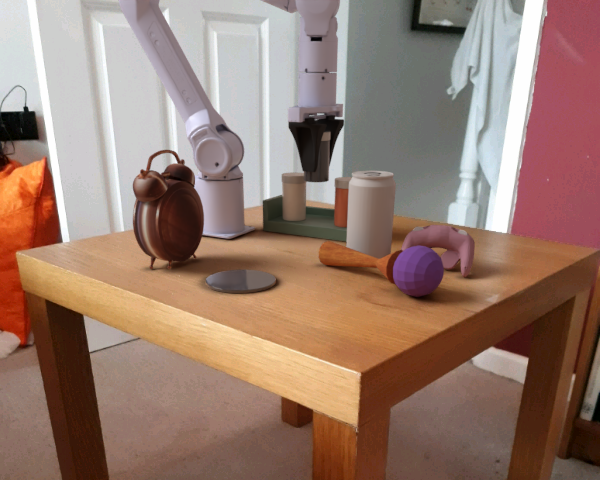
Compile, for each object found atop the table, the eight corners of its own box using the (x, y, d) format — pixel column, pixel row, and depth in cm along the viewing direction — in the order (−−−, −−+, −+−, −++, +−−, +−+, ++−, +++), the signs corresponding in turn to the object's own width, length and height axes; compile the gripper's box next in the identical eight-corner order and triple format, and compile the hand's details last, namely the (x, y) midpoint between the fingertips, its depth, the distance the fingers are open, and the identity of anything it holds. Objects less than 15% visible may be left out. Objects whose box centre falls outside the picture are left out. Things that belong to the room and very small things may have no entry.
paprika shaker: (328, 226, 103) (330, 179, 99) (340, 221, 106) (341, 176, 103) (352, 228, 101) (354, 181, 98) (363, 223, 104) (365, 178, 101)
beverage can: (389, 255, 94) (395, 169, 88) (390, 267, 88) (397, 176, 82) (346, 253, 94) (349, 168, 89) (345, 265, 89) (348, 175, 83)
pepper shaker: (298, 181, 100) (298, 131, 96) (310, 177, 103) (311, 129, 100) (322, 183, 98) (323, 133, 95) (333, 179, 101) (335, 131, 98)
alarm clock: (182, 253, 94) (173, 145, 87) (209, 257, 92) (202, 147, 85) (134, 272, 85) (120, 153, 78) (163, 277, 83) (151, 155, 76)
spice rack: (263, 230, 107) (262, 200, 105) (289, 220, 114) (289, 192, 112) (360, 243, 100) (361, 211, 98) (381, 232, 107) (383, 201, 105)
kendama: (346, 232, 89) (458, 250, 74) (341, 274, 91) (449, 300, 76) (313, 229, 86) (424, 247, 71) (308, 274, 87) (415, 300, 73)
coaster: (191, 286, 80) (191, 283, 80) (231, 268, 87) (231, 266, 87) (251, 297, 76) (251, 294, 76) (288, 278, 83) (288, 275, 83)
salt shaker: (277, 219, 107) (276, 174, 104) (289, 215, 110) (289, 171, 107) (298, 222, 105) (299, 176, 102) (310, 217, 108) (311, 173, 105)
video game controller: (471, 282, 87) (479, 231, 87) (469, 276, 82) (478, 222, 82) (399, 275, 90) (407, 226, 89) (395, 268, 85) (403, 217, 85)
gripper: (319, 73, 86) (317, 177, 92) (362, 72, 97) (357, 166, 104) (274, 72, 89) (276, 173, 95) (321, 72, 100) (319, 163, 107)
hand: (315, 169), depth 100 cm, fingers closed on pepper shaker, 4 cm apart
